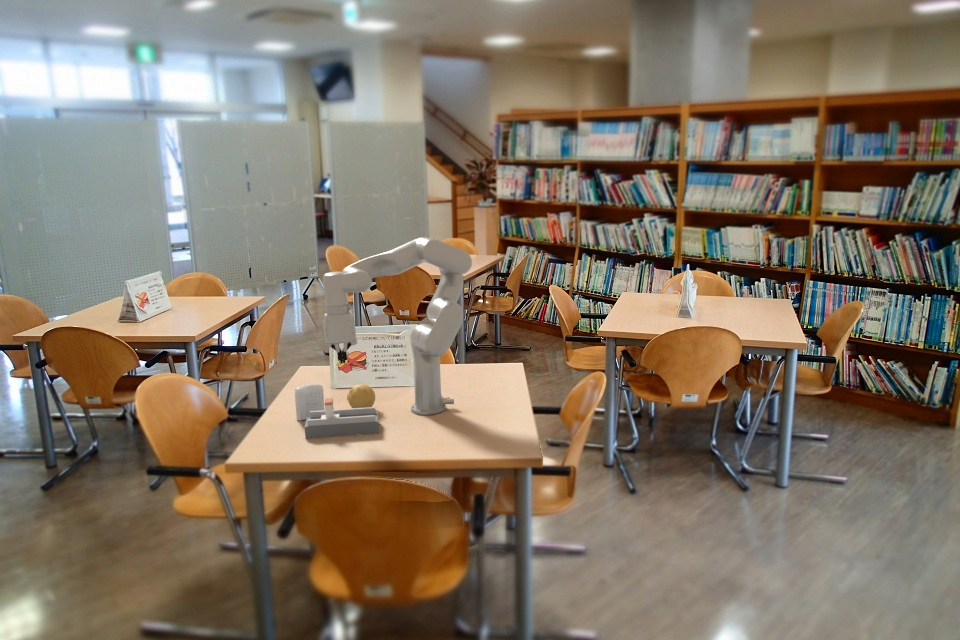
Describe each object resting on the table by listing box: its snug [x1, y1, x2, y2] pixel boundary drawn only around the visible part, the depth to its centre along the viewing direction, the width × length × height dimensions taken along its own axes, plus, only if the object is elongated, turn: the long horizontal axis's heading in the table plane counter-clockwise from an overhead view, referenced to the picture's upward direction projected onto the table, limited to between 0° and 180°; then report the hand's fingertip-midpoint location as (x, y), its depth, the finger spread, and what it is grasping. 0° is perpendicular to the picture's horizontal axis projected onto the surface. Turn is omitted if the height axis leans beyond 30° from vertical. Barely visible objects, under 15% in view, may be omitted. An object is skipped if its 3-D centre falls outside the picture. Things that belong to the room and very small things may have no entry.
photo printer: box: [294, 382, 325, 422], centre depth 257 cm, size 10×4×12 cm, turn 123°
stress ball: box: [346, 383, 376, 408], centre depth 262 cm, size 10×10×10 cm
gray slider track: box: [304, 406, 380, 439], centre depth 245 cm, size 24×10×6 cm, turn 98°
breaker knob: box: [321, 397, 340, 419], centre depth 243 cm, size 6×6×7 cm
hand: (342, 362), depth 244 cm, fingers closed
